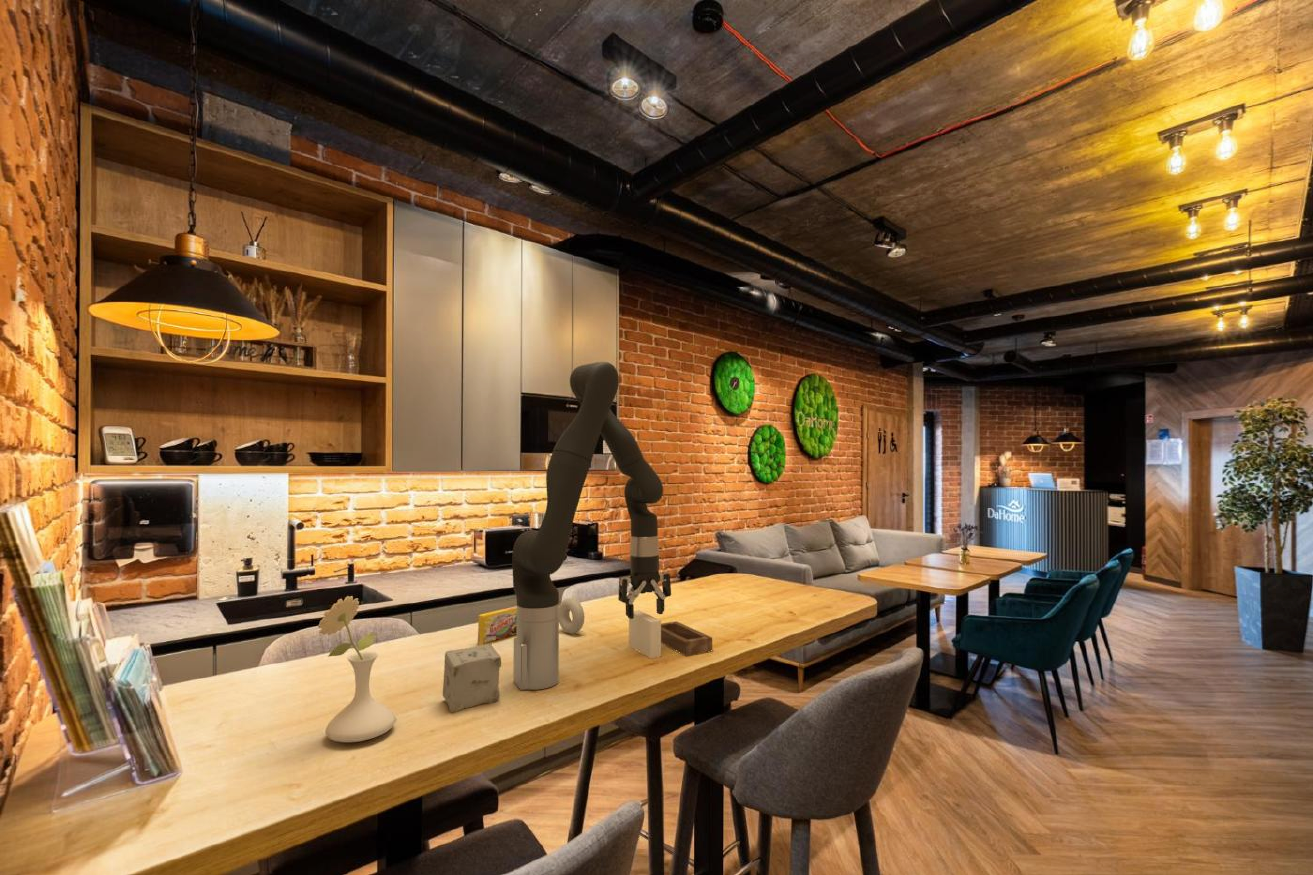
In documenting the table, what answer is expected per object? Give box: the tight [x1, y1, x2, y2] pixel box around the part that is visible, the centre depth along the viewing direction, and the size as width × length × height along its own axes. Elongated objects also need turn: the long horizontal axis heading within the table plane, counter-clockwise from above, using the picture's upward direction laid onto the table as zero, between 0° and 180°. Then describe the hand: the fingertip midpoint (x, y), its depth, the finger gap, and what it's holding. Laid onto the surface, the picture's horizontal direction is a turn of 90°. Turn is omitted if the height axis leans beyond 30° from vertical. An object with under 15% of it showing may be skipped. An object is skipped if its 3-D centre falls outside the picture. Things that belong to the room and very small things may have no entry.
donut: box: [559, 597, 585, 635], centre depth 168 cm, size 10×4×10 cm, turn 47°
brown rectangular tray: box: [661, 621, 713, 657], centre depth 158 cm, size 8×18×4 cm, turn 29°
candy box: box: [476, 605, 517, 646], centre depth 163 cm, size 16×2×8 cm, turn 143°
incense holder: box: [442, 644, 502, 714], centre depth 120 cm, size 10×8×10 cm
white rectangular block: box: [628, 610, 662, 659], centre depth 153 cm, size 3×12×9 cm, turn 29°
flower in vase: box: [317, 595, 397, 743], centre depth 106 cm, size 13×11×25 cm
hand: (645, 615), depth 153 cm, fingers open, 8 cm apart
